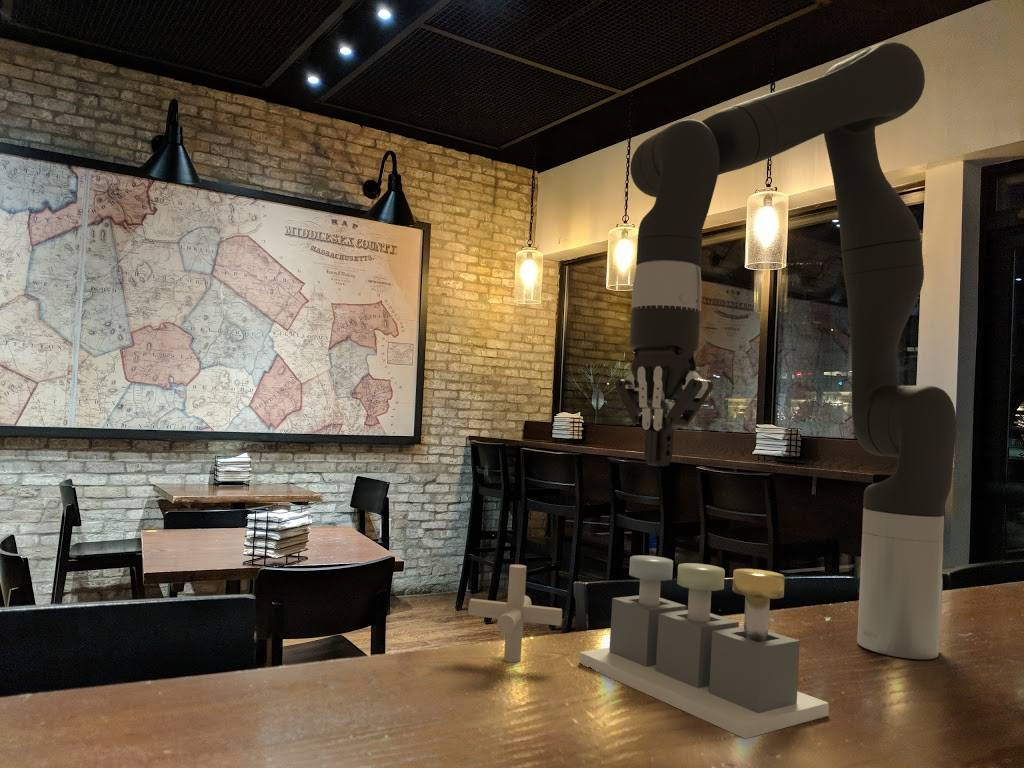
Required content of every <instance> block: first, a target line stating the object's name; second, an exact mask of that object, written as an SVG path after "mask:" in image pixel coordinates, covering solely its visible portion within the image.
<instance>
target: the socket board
mask: <svg viewBox="0 0 1024 768" xmlns="http://www.w3.org/2000/svg"><path fill="white" fill-rule="evenodd" d="M610 617H611V618H610V633H609V634H610V635H609V647H605V648H599V649H593V650H592V649H591V650H586V651H579V658H578V659H579V660H578V663H579V662H580V663H582V664H584V665H586V666H588V667H591V668H592V669H594V670H593V671H595V670H597V671H598V672H597V671H596V672H597V673H599V672H600V673H599V674H601V673H602V674H601V675H603V674H604V676H606V677H609V678H610V679H613V680H614V679H615V681H617V682H619V683H621V684H624V685H626V686H628V687H631V688H632V689H635V690H637V691H639V692H641V693H643V694H646V695H648V696H650V697H653V698H655V699H657V700H658V701H661V702H664V703H665V704H668V705H670V706H672V707H675V708H677V709H679V710H681V711H684V712H685V713H688V714H689V715H692V716H694V717H696V718H699V719H701V720H703V721H706V722H707V723H710V724H712V725H715V726H716V727H718V728H721V729H722V730H725V731H727V732H729V733H731V734H734V735H736V736H738V737H740V738H742V739H744V740H745V739H749V738H752V737H756V736H759V735H760V736H761V735H763V734H767V733H771V732H775V731H778V730H782V729H784V728H789V727H792V726H796V725H799V724H803V723H808V722H811V721H814V720H817V719H822V718H825V717H828V716H829V703H830V702H827V701H826V700H822V699H820V698H816V697H814V696H811V695H808V694H806V693H803V692H801V691H798V685H799V665H800V662H799V661H800V646H801V645H800V643H801V641H800V640H799V639H796V638H792V637H789V636H786V635H782V634H779V633H776V632H773V631H770V630H768V641H764V642H756V641H753V640H750V639H747V638H744V637H743V634H744V626H740V621H737V620H735V619H732V618H727V617H726V616H725V617H724V616H721V615H718V614H714V613H711V612H710V622H705V623H698V622H695V621H692V620H689V619H687V617H688V609H687V605H685V604H682V603H679V602H675V601H672V600H668V599H665V598H663V597H660V602H659V606H650V607H649V606H646V605H643V604H640V603H639V595H632V596H620V597H612V599H611V616H610ZM584 665H583V666H584ZM586 666H585V667H586ZM588 667H587V668H588ZM592 669H591V670H592Z"/></svg>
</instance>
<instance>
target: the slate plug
mask: <svg viewBox="0 0 1024 768" xmlns="http://www.w3.org/2000/svg"><path fill="white" fill-rule="evenodd" d="M673 569H674V560H672V559H670V558H667V557H662V556H661V557H660V556H655V555H640V554H639V555H632V556H630V557H629V571H628V572H629V573H628V574H629V576H630V577H633V578H636V579H639V593H638V594H639V603H640V604H643V605H646V606H649V607H650V606H659V602H660V598H661V597H660V596H661V582H662V581H671V580H672V579H673Z"/></svg>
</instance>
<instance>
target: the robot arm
mask: <svg viewBox="0 0 1024 768" xmlns="http://www.w3.org/2000/svg"><path fill="white" fill-rule="evenodd" d="M925 77H926V76H925V69H924V66H923V63H922V61H921V59H920V57H919V55H918V54H917V53H916V52H915V51H914V50H913V49H912V48H910V47H909V46H908V45H906V44H903V43H900V42H896V41H890V42H888V41H887V42H881V43H879V44H876V45H872V46H870V47H868V48H866V49H864V50H862V51H860V52H858V53H856V54H855V55H854V54H853V56H851V57H848V58H847V59H844V60H842V61H840V62H838V63H836V64H834V65H832V67H830V68H829V69H828V70H827V71H826V72H825V73H824V74H823V75H822V76H819V77H816V78H814V79H811V80H808V81H805V82H802V83H800V84H799V83H798V84H797V85H793V86H790V87H786V88H783V89H779V90H777V91H774V92H771V93H767V94H764V95H761V96H757V97H755V98H752V99H749V100H746V101H743V102H740V103H737V104H734V105H731V106H729V107H726V108H723V109H721V110H719V111H716V112H715V113H714V114H712V115H710V116H708V117H707V118H705V119H703V120H701V121H700V120H696V119H693V118H692V119H691V118H690V119H689V118H688V119H682V120H679V121H676V122H674V123H672V124H671V125H669V126H667V127H665V128H662V130H660V131H658V132H656V133H654V135H653V134H652V135H651V136H650V137H648V138H647V139H645V140H643V141H642V143H640V144H639V145H638V146H637V148H636V149H635V151H634V153H633V154H632V158H631V160H630V170H629V172H630V176H631V179H632V182H633V183H634V185H635V187H636V188H637V189H638V190H639V191H640V192H642V193H644V194H645V195H647V196H650V197H653V198H655V202H654V205H653V206H652V207H651V209H650V210H649V211H648V212H647V213H646V214H645V215H644V216H643V218H642V219H641V221H640V223H639V226H638V232H637V243H636V244H637V246H636V259H635V260H636V262H635V263H636V264H635V265H636V266H635V274H634V276H633V277H634V278H633V282H632V289H631V290H632V292H631V293H632V294H631V309H630V310H631V311H630V329H629V346H630V348H631V349H632V350H633V351H634V357H633V360H632V362H631V365H630V371H631V372H630V373H629V374H628V375H627V376H626V377H625V378H624V379H620V378H618V379H617V380H616V381H615V388H616V390H617V392H618V394H619V397H620V399H621V401H622V403H623V405H624V407H625V409H626V412H627V413H628V416H629V418H630V419H631V422H632V423H633V424H638V425H640V426H642V428H643V429H644V431H645V437H644V438H645V439H644V453H643V454H644V458H645V463H646V464H647V465H648V466H656V467H668V466H669V465H670V464H671V463H670V462H671V461H672V458H673V450H674V448H673V447H674V434H675V431H676V430H677V429H679V428H681V427H688V426H689V425H690V423H691V422H692V420H693V418H694V417H695V416H696V415H697V412H698V411H699V409H700V408H701V407H702V405H703V404H704V402H705V401H706V399H707V398H708V397H709V395H710V393H711V392H712V390H713V388H714V383H713V382H712V381H711V380H708V379H704V378H703V377H702V376H701V375H700V374H699V373H698V372H697V367H698V365H697V362H696V359H695V352H697V351H698V350H699V347H700V335H701V333H700V332H701V316H702V314H701V313H702V310H701V309H702V295H703V294H702V293H703V288H702V287H703V286H702V285H703V284H702V283H703V282H702V276H701V275H702V274H701V273H702V272H701V271H702V270H701V265H702V247H703V245H702V244H703V229H704V226H705V222H706V221H707V217H708V214H709V210H710V207H711V203H712V200H713V195H714V193H715V189H716V185H717V182H718V177H719V175H723V174H726V173H729V172H733V171H737V170H741V169H744V168H747V167H749V166H752V165H754V164H757V163H760V162H762V161H764V160H768V159H770V158H772V157H775V156H777V155H780V154H782V153H784V152H786V151H788V150H791V149H792V148H793V149H794V148H795V147H797V146H799V145H802V144H803V143H805V142H807V141H809V140H813V139H814V138H816V137H818V136H819V137H820V136H821V135H823V137H824V140H825V146H826V150H827V155H828V161H829V164H830V169H831V175H832V181H833V186H834V188H833V189H834V193H835V201H836V209H837V215H838V217H837V218H838V224H839V234H840V235H839V236H840V250H841V258H842V259H841V260H842V270H843V278H844V284H845V290H846V298H847V306H848V307H847V309H848V310H847V311H848V318H849V320H848V321H849V331H850V332H849V333H850V347H851V348H850V349H851V354H850V355H851V415H852V416H851V418H852V426H853V430H854V433H855V437H856V439H857V442H858V444H859V445H860V446H861V448H862V449H863V450H864V451H866V452H868V453H869V454H872V455H875V456H880V457H889V458H890V457H892V458H897V464H896V468H895V471H894V473H892V475H890V476H889V477H887V478H885V479H884V480H882V481H879V482H876V483H871V484H870V485H868V486H867V487H866V488H865V490H864V492H863V505H862V506H863V508H862V509H863V510H862V529H861V530H862V534H861V555H860V574H859V575H860V576H859V577H860V578H859V596H858V599H859V600H858V601H859V602H858V616H857V618H858V619H857V637H856V641H857V644H858V645H859V646H860V647H862V648H864V649H867V650H869V651H872V652H876V653H878V654H882V655H886V656H890V657H896V658H902V659H911V660H912V659H913V660H933V659H936V658H938V657H939V653H940V651H941V627H942V602H943V582H944V581H943V580H944V579H943V559H944V557H943V556H944V534H945V533H944V531H945V527H944V526H945V507H946V502H947V500H948V497H949V495H950V492H951V489H952V482H953V481H952V480H953V470H954V469H953V468H954V462H955V461H954V459H955V451H956V450H955V449H956V441H957V413H956V409H955V405H954V403H953V400H952V398H951V397H950V396H949V394H948V393H947V391H945V390H944V389H942V388H940V387H937V386H933V385H900V383H899V376H898V375H899V374H898V350H899V344H900V339H901V336H902V334H903V332H904V328H905V327H906V324H907V322H908V320H909V318H910V316H911V314H912V312H913V310H914V308H915V305H916V303H917V300H918V299H919V296H920V294H921V290H922V288H923V283H924V279H925V268H924V267H925V265H924V258H923V257H924V256H923V246H922V240H921V239H922V238H921V237H922V236H921V232H920V231H921V230H920V226H919V224H918V221H917V219H916V218H915V216H914V214H913V212H912V211H911V209H910V208H909V207H908V205H907V204H906V202H905V201H904V200H903V198H901V196H900V195H899V193H898V192H897V191H896V190H895V189H894V187H893V186H892V184H891V183H890V182H889V180H888V179H887V178H886V176H885V174H884V172H883V169H882V166H881V163H880V160H879V156H878V155H879V153H878V149H877V144H876V143H877V141H876V131H875V130H876V127H878V126H881V125H884V124H886V123H889V122H891V121H894V120H896V119H898V118H900V117H902V116H903V115H905V114H907V113H908V112H909V111H910V110H911V109H913V108H914V107H915V106H916V105H917V103H918V102H919V100H920V98H921V97H922V95H923V92H924V89H925V83H926V82H925V81H926V78H925Z"/></svg>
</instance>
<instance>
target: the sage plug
mask: <svg viewBox="0 0 1024 768" xmlns="http://www.w3.org/2000/svg"><path fill="white" fill-rule="evenodd" d="M725 573H726V571H725V569H724V568H723V567H720V566H716V565H712V564H704V563H694V562H693V563H692V562H689V563H679V564H678V566H677V579H676V580H677V581H676V583H677V585H678V586H680V587H682V588H686V589H688V600H687V601H688V602H687V610H688V617H687V619H689V620H692V621H695V622H698V623H705V622H710V613H711V607H712V606H711V605H712V603H711V602H712V601H711V599H712V592H713V591H714V592H716V591H722V590H724V589H725Z"/></svg>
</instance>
